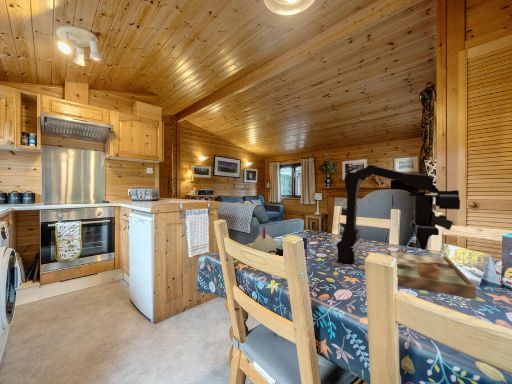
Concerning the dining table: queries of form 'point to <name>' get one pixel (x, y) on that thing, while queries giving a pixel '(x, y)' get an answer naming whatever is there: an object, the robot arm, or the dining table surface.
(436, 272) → the block
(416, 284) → the wooden tray
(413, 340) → the dining table surface
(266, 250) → the beige cone with rod
